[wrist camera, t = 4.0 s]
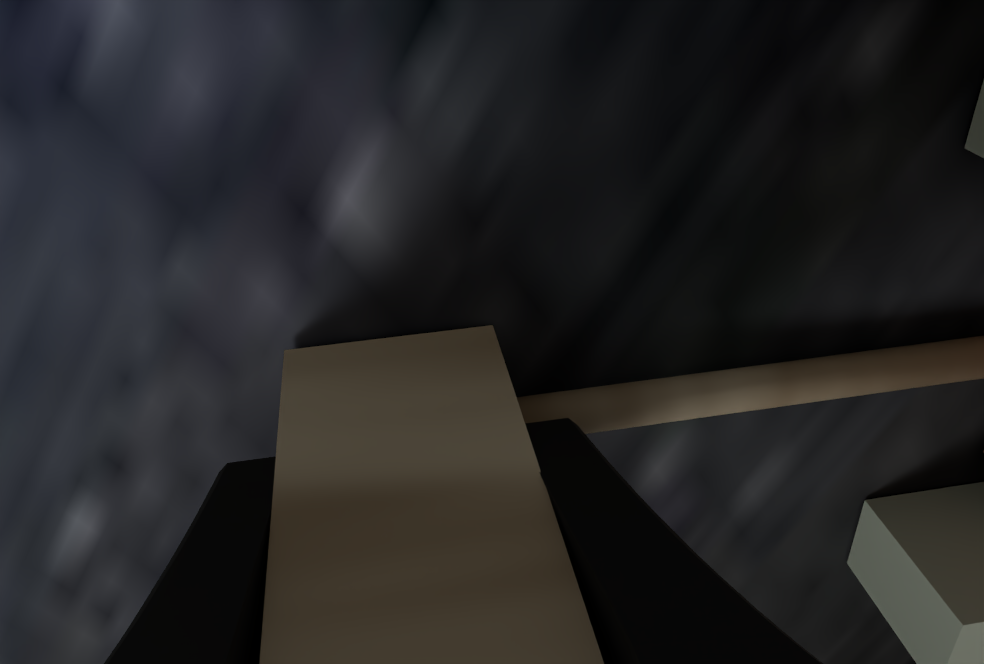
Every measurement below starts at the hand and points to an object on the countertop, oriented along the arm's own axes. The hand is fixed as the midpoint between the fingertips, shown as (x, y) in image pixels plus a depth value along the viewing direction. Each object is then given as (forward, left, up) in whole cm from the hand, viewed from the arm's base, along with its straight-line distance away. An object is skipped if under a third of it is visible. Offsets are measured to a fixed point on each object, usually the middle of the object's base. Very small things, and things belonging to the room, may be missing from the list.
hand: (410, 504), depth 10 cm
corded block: (0, -6, -2) cm, 6 cm away
